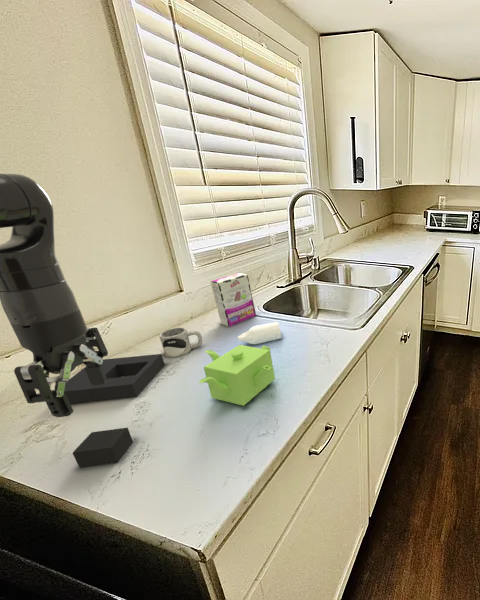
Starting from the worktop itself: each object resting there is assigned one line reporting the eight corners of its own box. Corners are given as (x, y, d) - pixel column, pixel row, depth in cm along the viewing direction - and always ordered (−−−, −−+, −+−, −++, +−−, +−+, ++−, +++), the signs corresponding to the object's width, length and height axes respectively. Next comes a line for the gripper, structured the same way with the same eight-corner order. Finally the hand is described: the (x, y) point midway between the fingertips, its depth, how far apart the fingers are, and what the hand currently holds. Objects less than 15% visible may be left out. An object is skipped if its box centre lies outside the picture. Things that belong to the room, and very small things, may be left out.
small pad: (80, 470, 58) (72, 452, 56) (98, 448, 62) (91, 432, 61) (118, 464, 59) (111, 447, 57) (134, 443, 63) (127, 427, 62)
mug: (163, 360, 92) (156, 339, 90) (167, 349, 98) (161, 329, 95) (203, 352, 96) (198, 332, 94) (205, 342, 102) (200, 323, 99)
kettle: (209, 422, 69) (197, 377, 65) (209, 386, 80) (199, 347, 76) (283, 399, 75) (275, 357, 71) (273, 370, 87) (266, 332, 83)
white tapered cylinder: (238, 343, 101) (234, 327, 99) (278, 334, 107) (275, 318, 105) (240, 351, 96) (236, 334, 94) (282, 341, 102) (279, 325, 100)
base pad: (58, 407, 74) (51, 393, 72) (98, 373, 86) (93, 360, 85) (137, 398, 76) (132, 384, 75) (165, 366, 89) (161, 353, 88)
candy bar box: (248, 313, 123) (239, 272, 117) (256, 316, 120) (248, 273, 114) (220, 325, 114) (209, 280, 108) (228, 328, 111) (218, 282, 105)
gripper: (53, 298, 56) (87, 377, 62) (-32, 335, 43) (21, 431, 49) (102, 294, 57) (131, 372, 63) (35, 329, 44) (79, 424, 50)
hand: (83, 398), depth 56 cm, fingers open, 8 cm apart
